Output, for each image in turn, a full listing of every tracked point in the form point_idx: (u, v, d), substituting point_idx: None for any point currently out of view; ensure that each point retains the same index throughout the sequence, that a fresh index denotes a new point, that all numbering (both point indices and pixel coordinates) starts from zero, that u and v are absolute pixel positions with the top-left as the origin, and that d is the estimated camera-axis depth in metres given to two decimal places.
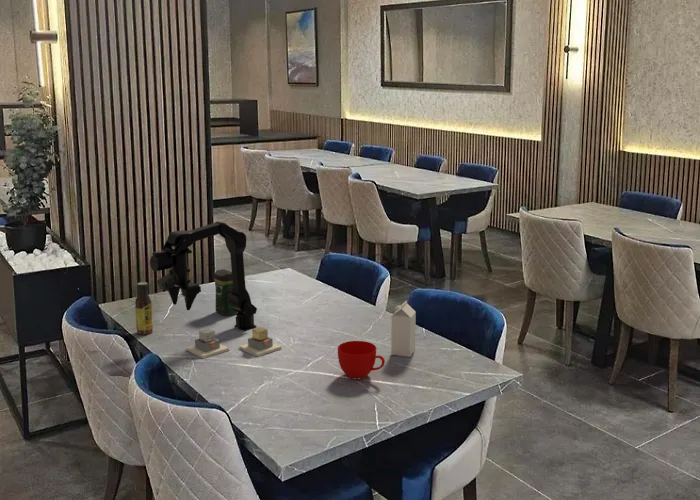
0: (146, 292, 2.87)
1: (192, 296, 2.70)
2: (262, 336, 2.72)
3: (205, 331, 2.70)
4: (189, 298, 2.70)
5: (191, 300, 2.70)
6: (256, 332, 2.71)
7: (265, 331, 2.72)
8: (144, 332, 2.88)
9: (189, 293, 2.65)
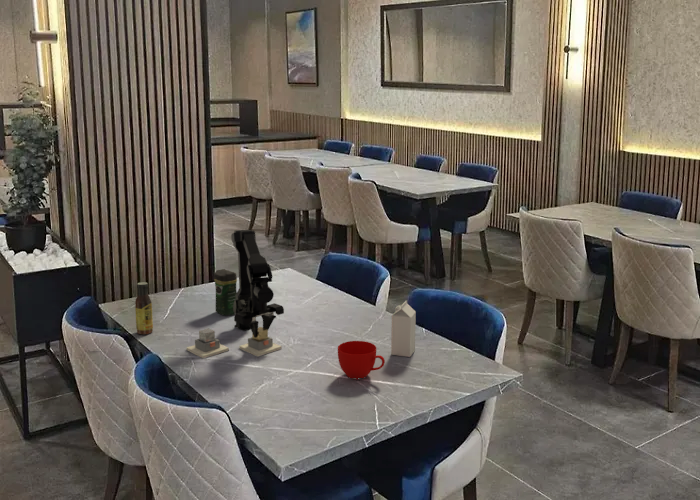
0: (146, 292, 2.87)
1: (253, 325, 2.69)
2: (262, 336, 2.72)
3: (205, 331, 2.70)
4: (252, 325, 2.70)
5: (253, 328, 2.70)
6: None
7: (265, 331, 2.72)
8: (144, 332, 2.88)
9: (235, 320, 2.67)
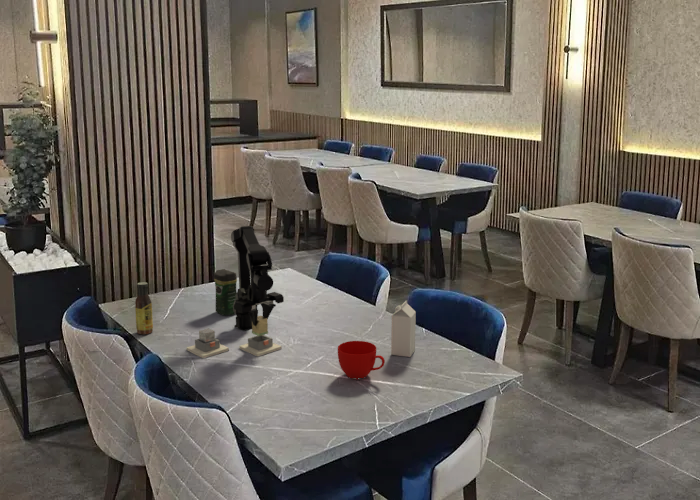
0: (146, 292, 2.87)
1: (253, 313, 2.68)
2: (262, 325, 2.71)
3: (205, 331, 2.70)
4: (252, 314, 2.69)
5: (253, 316, 2.69)
6: None
7: (265, 320, 2.71)
8: (144, 332, 2.88)
9: (234, 308, 2.66)
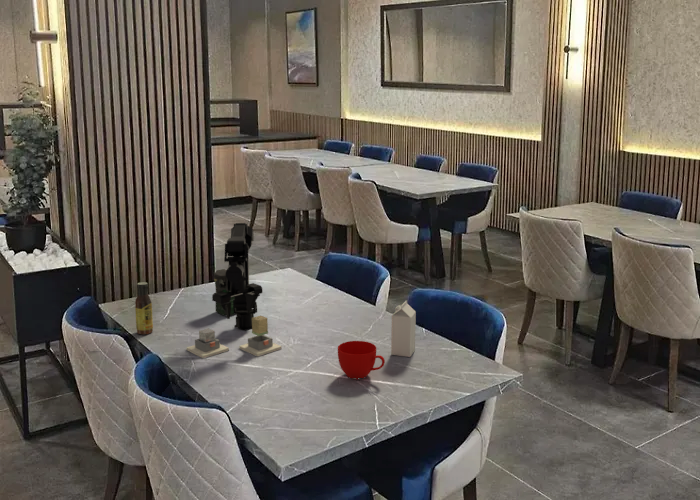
0: (146, 292, 2.87)
1: (226, 306, 2.65)
2: (262, 325, 2.71)
3: (205, 331, 2.70)
4: (225, 307, 2.66)
5: (226, 309, 2.65)
6: (256, 320, 2.70)
7: (265, 320, 2.71)
8: (144, 332, 2.88)
9: (213, 299, 2.64)
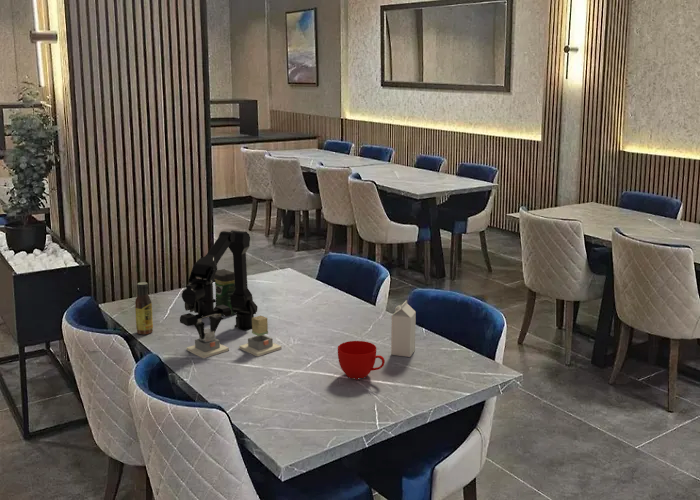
0: (146, 292, 2.87)
1: None
2: (262, 325, 2.71)
3: (205, 331, 2.70)
4: (198, 327, 2.68)
5: (199, 330, 2.68)
6: (256, 320, 2.70)
7: (265, 320, 2.71)
8: (144, 332, 2.88)
9: (180, 321, 2.65)
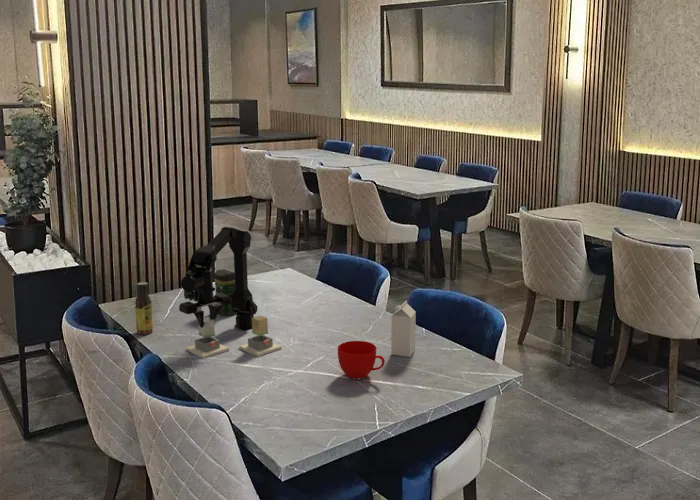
0: (146, 292, 2.87)
1: None
2: (262, 325, 2.71)
3: (205, 320, 2.69)
4: (198, 315, 2.67)
5: (199, 318, 2.67)
6: (256, 320, 2.70)
7: (265, 320, 2.71)
8: (144, 332, 2.88)
9: (180, 309, 2.64)
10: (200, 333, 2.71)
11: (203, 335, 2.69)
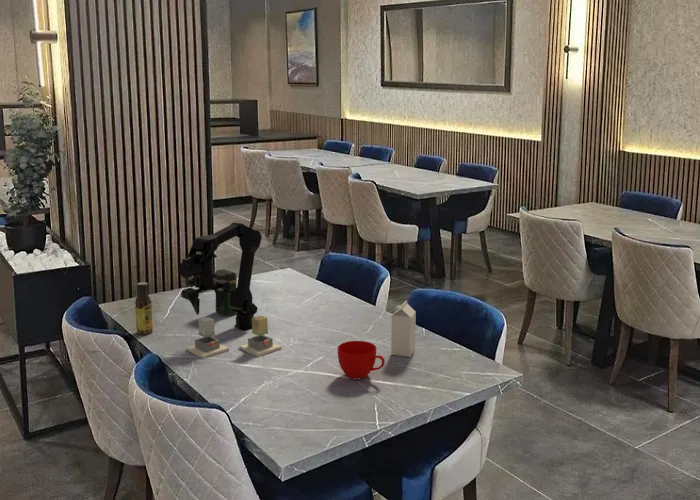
0: (146, 292, 2.87)
1: None
2: (262, 325, 2.71)
3: (205, 320, 2.69)
4: (194, 303, 2.73)
5: (195, 305, 2.73)
6: (256, 320, 2.70)
7: (265, 320, 2.71)
8: (144, 332, 2.88)
9: (182, 296, 2.72)
10: (200, 333, 2.71)
11: (203, 335, 2.69)
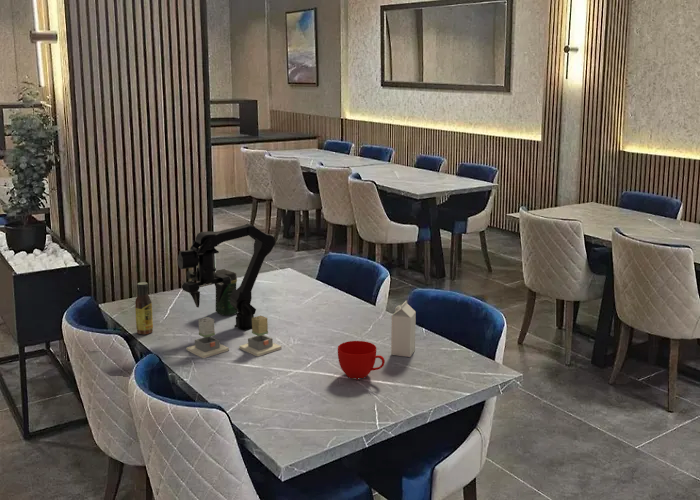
0: (146, 292, 2.87)
1: None
2: (262, 325, 2.71)
3: (205, 320, 2.69)
4: (194, 296, 2.82)
5: (195, 298, 2.81)
6: (256, 320, 2.70)
7: (265, 320, 2.71)
8: (144, 332, 2.88)
9: (182, 288, 2.80)
10: (200, 333, 2.71)
11: (203, 335, 2.69)
